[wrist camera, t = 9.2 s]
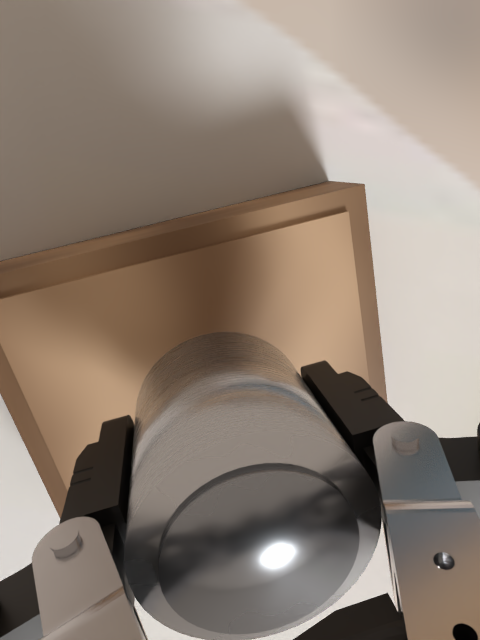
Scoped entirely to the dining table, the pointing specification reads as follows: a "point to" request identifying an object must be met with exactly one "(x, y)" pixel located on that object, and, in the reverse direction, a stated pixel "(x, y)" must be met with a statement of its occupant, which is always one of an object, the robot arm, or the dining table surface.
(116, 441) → the robot arm
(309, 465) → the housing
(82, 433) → the tray
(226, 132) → the dining table surface
